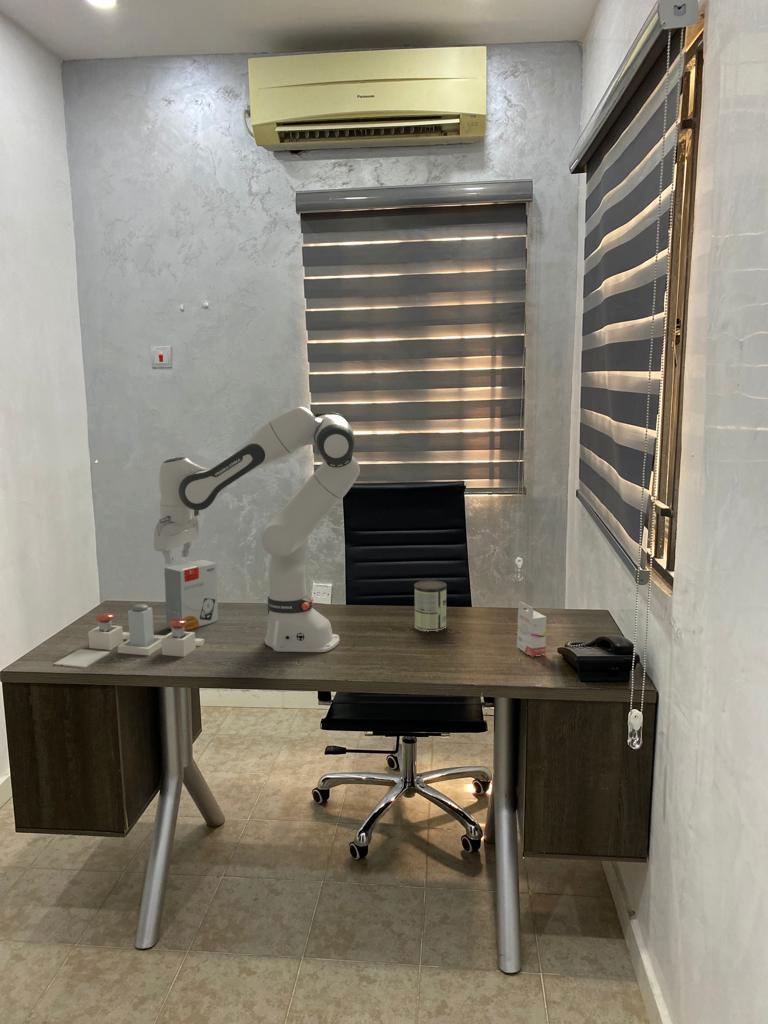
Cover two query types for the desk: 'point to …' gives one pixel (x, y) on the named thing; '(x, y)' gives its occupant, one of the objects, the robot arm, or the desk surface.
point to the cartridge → (141, 626)
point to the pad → (82, 658)
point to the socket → (149, 650)
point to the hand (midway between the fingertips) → (177, 560)
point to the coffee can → (430, 605)
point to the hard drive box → (192, 593)
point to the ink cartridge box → (531, 630)
